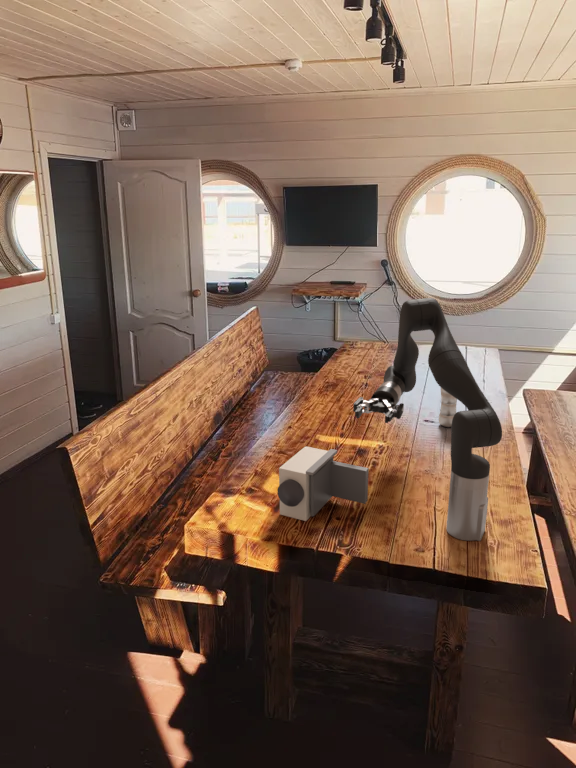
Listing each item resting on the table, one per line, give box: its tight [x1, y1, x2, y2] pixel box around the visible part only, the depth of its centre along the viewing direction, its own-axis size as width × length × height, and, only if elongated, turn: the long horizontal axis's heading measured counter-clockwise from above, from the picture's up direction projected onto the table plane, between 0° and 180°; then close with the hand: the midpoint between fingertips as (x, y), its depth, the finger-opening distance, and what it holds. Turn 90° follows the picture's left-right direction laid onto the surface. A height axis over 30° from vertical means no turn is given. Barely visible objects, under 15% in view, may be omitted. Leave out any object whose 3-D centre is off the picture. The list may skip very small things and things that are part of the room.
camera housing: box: [276, 446, 338, 522], centre depth 169 cm, size 10×18×15 cm, turn 152°
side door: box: [310, 456, 370, 518], centre depth 165 cm, size 11×13×12 cm
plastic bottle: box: [438, 387, 458, 428], centre depth 224 cm, size 6×7×20 cm
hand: (371, 417), depth 174 cm, fingers open, 8 cm apart
